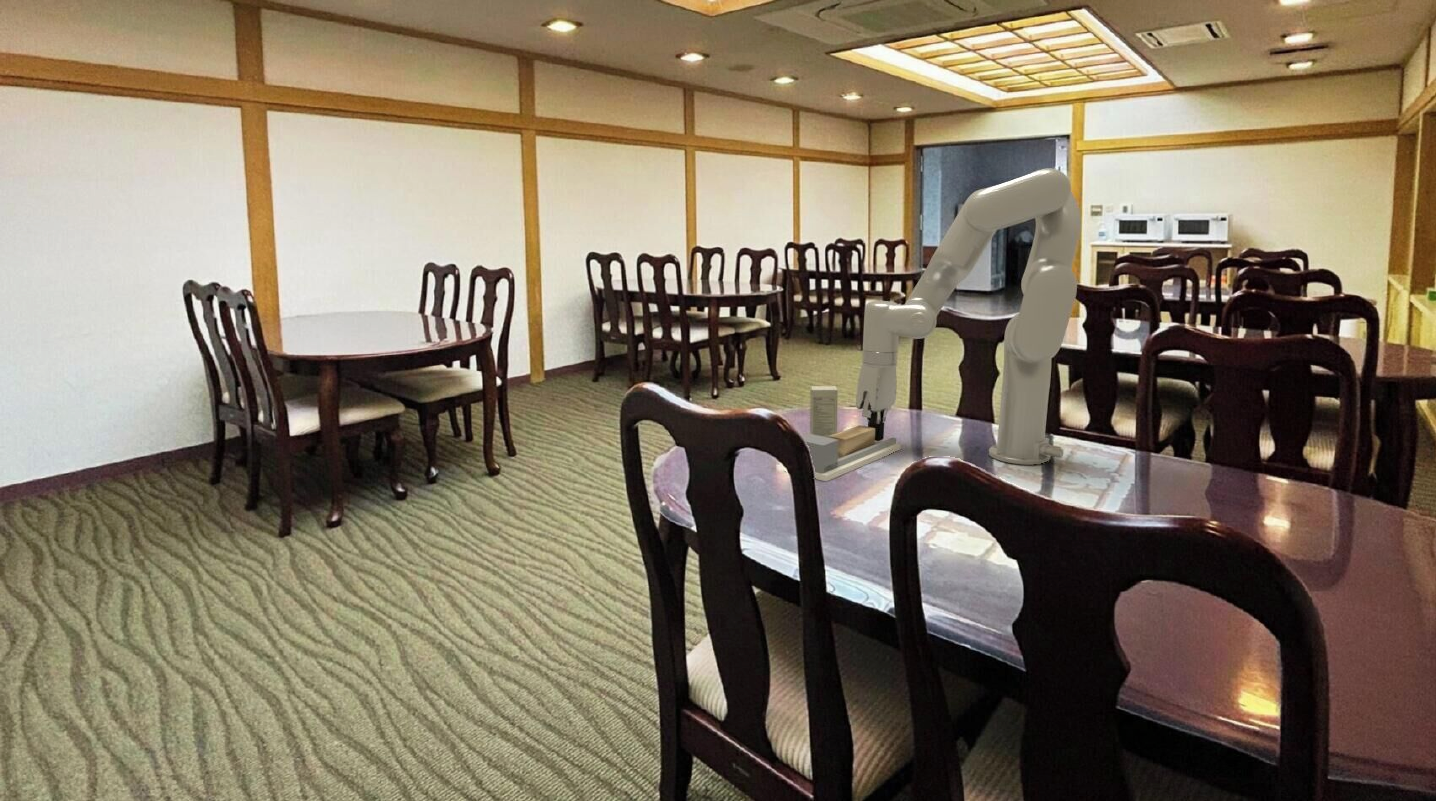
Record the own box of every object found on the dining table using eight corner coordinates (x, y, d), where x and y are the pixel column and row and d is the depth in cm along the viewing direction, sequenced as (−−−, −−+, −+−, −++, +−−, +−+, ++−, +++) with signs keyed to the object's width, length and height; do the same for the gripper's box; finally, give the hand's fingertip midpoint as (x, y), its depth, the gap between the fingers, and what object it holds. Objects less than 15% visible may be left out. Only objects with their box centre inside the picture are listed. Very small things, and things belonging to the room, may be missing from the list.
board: (900, 449, 190) (902, 419, 189) (826, 481, 168) (827, 447, 166) (861, 441, 196) (863, 411, 195) (784, 471, 174) (785, 438, 173)
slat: (874, 448, 187) (875, 428, 186) (844, 460, 178) (845, 439, 177) (858, 444, 189) (859, 425, 188) (828, 456, 180) (829, 435, 179)
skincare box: (836, 437, 200) (838, 385, 198) (837, 441, 196) (839, 389, 193) (808, 436, 201) (810, 385, 198) (808, 441, 197) (810, 388, 194)
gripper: (881, 352, 195) (877, 430, 199) (846, 360, 184) (842, 442, 188) (911, 356, 190) (906, 435, 194) (877, 364, 179) (872, 449, 183)
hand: (875, 439), depth 191 cm, fingers closed
